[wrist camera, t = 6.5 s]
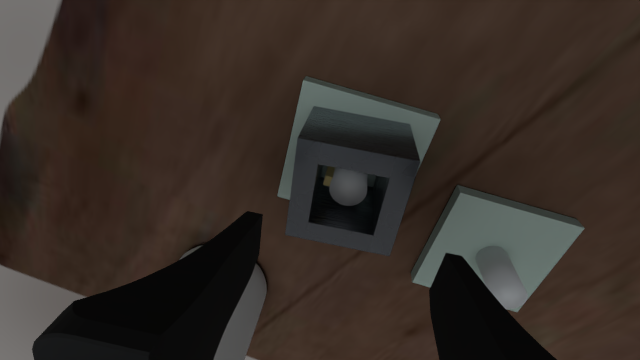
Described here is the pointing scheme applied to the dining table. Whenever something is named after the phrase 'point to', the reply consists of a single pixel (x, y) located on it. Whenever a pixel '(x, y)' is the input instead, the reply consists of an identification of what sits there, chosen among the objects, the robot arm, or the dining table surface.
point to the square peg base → (319, 93)
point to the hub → (356, 155)
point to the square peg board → (498, 243)
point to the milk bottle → (242, 318)
